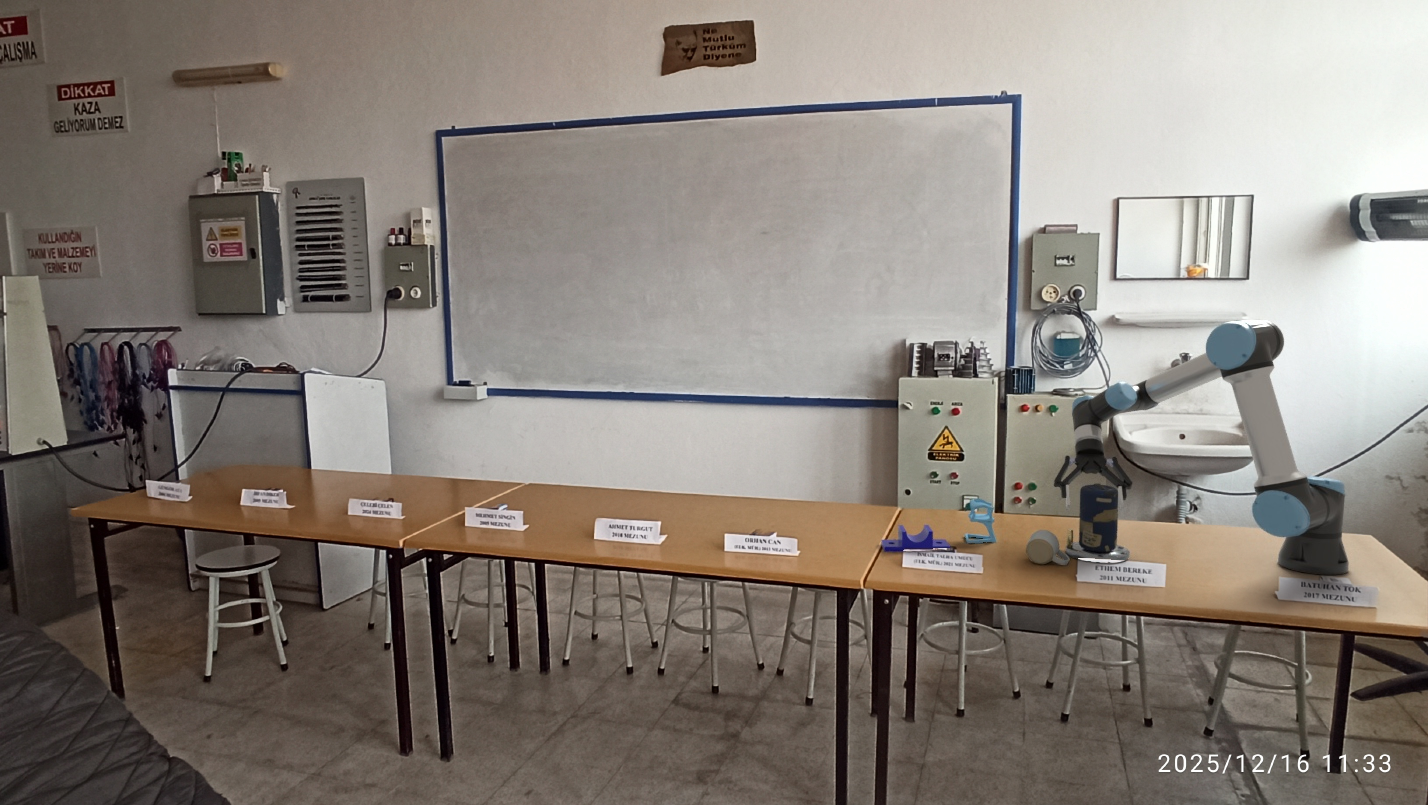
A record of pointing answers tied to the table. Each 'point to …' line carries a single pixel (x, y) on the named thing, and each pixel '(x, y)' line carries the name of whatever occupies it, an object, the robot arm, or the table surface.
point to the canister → (1098, 517)
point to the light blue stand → (981, 521)
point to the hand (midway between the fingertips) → (1094, 508)
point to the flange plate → (1078, 552)
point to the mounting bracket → (914, 541)
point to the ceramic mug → (1045, 548)
